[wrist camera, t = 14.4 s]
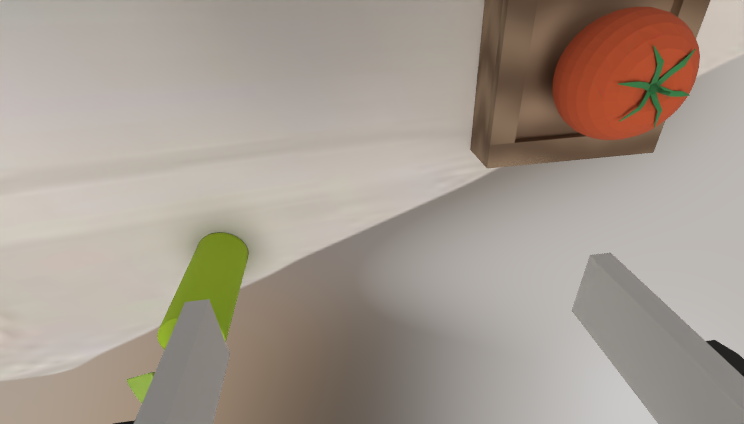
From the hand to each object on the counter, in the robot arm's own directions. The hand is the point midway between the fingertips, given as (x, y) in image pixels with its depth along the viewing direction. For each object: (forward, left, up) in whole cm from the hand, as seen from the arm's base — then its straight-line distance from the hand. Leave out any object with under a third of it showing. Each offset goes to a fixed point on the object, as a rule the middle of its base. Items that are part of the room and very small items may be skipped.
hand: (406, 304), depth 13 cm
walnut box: (-2, +22, -29) cm, 36 cm away
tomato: (-2, +22, -25) cm, 33 cm away
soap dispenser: (+17, -17, -29) cm, 38 cm away
